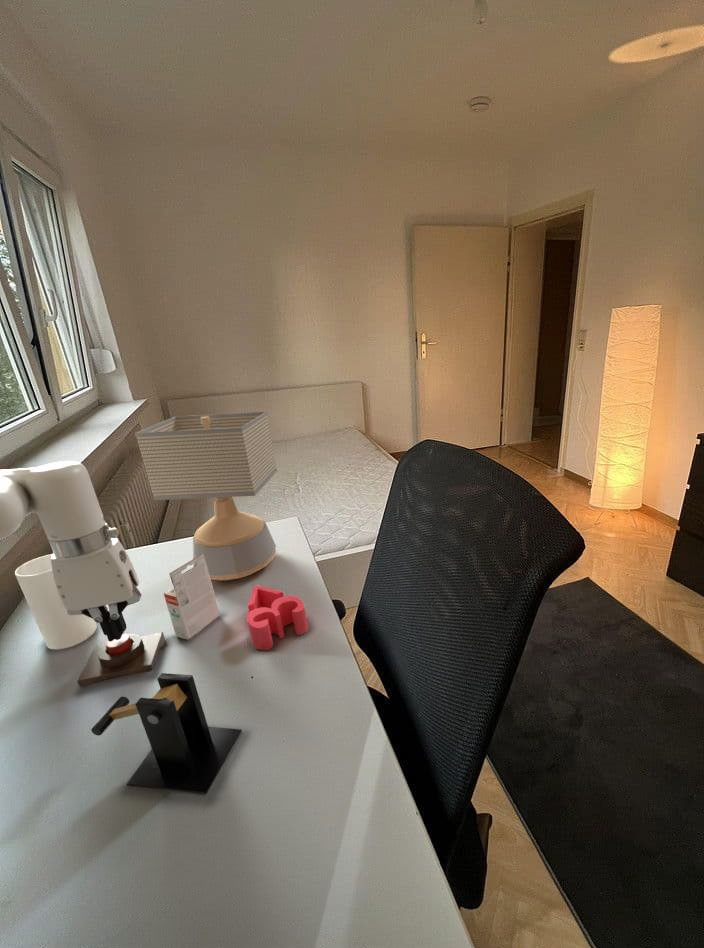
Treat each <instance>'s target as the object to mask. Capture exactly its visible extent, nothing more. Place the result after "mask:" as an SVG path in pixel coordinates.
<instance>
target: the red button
mask: <svg viewBox="0 0 704 948" xmlns="http://www.w3.org/2000/svg"><path fill="white" fill-rule="evenodd" d="M129 634H130V633H126V632H123V635H122V637H121V639H119V640H116V639H114V640H113V641H110V642H109V640H108V639H107V640H106V642H105V643H106V648H107V651H108V653H109V654H110V655H115V654H120V653H122V652H124V651H126V650H128V649H129V648H130V647H131V646H132V641H131V639H130V636H129Z"/></svg>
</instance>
